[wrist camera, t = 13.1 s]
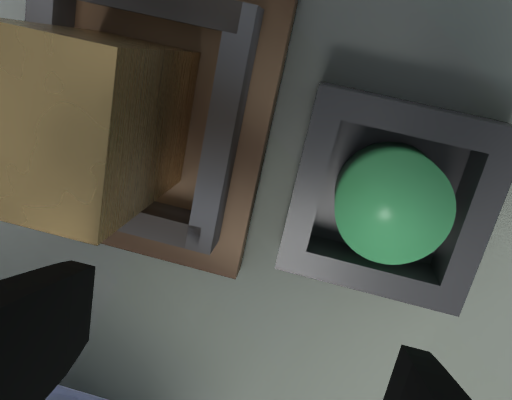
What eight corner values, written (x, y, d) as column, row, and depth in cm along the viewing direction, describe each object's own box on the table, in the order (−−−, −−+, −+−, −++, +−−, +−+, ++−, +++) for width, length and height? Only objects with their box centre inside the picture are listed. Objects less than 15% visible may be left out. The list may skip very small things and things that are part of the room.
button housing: (445, 289, 19) (459, 316, 17) (280, 246, 20) (274, 268, 18) (508, 123, 17) (531, 131, 15) (320, 81, 18) (319, 84, 16)
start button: (422, 252, 19) (434, 277, 16) (323, 227, 19) (322, 248, 17) (456, 155, 17) (473, 168, 15) (349, 131, 18) (351, 140, 16)
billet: (180, 180, 19) (97, 245, 12) (87, 158, 19) (-44, 209, 13) (201, 52, 17) (117, 47, 11) (99, 30, 18) (-43, 12, 11)
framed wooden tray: (240, 269, 21) (227, 296, 18) (29, 213, 22) (-9, 232, 19) (303, -26, 17) (298, -40, 15) (46, -78, 18) (2, -99, 15)
